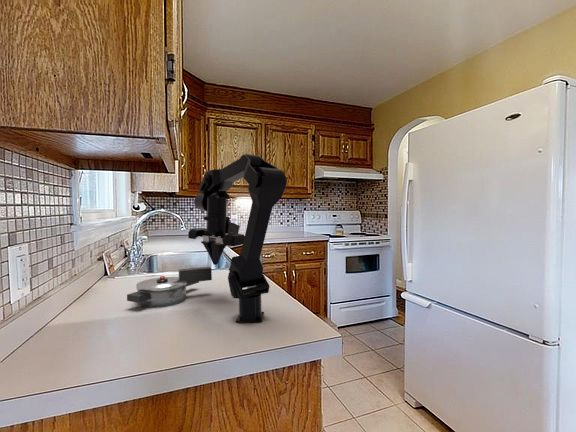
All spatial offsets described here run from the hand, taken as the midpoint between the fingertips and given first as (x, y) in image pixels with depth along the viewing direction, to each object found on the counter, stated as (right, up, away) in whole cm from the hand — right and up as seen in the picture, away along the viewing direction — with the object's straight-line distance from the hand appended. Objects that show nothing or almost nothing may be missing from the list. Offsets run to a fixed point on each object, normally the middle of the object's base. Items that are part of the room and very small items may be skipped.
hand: (215, 264), depth 92 cm
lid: (-14, -7, +5) cm, 16 cm away
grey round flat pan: (-16, -12, +5) cm, 21 cm away
